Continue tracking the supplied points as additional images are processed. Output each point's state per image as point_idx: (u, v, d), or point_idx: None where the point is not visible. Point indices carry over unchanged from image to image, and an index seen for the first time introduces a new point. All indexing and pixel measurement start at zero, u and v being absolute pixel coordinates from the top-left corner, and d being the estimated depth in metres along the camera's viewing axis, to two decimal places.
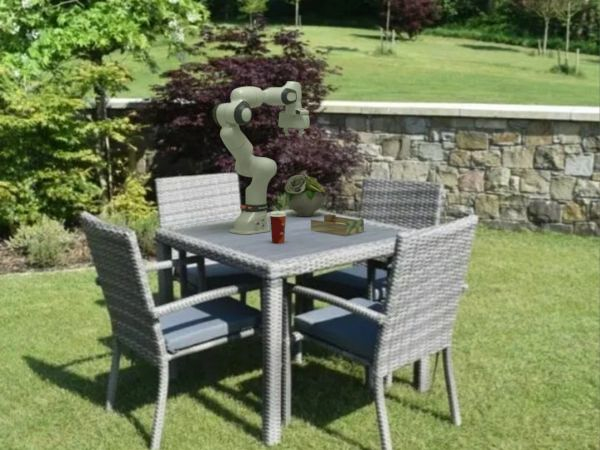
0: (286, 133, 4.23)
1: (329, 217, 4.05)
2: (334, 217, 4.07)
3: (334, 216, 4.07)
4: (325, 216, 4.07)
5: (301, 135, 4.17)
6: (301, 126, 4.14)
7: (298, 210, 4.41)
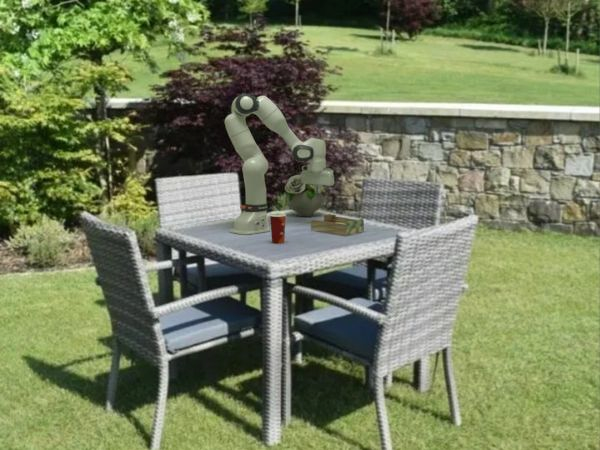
0: None
1: (329, 217, 4.05)
2: (334, 217, 4.07)
3: (334, 216, 4.07)
4: (325, 216, 4.07)
5: (315, 191, 4.11)
6: None
7: (298, 210, 4.41)
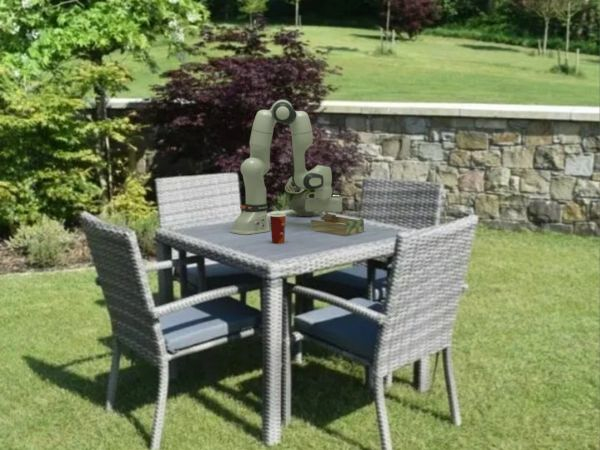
0: None
1: (329, 217, 4.05)
2: (334, 217, 4.07)
3: (334, 216, 4.07)
4: (325, 216, 4.07)
5: (321, 218, 4.11)
6: None
7: (298, 210, 4.41)
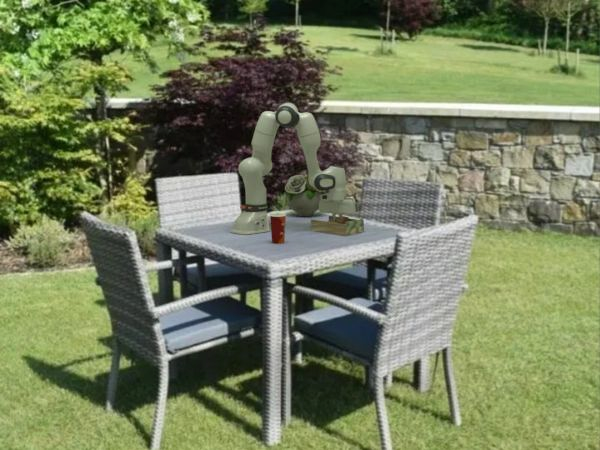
0: None
1: (341, 219, 3.99)
2: (346, 219, 4.00)
3: (346, 218, 4.00)
4: (337, 218, 4.01)
5: None
6: None
7: (298, 210, 4.41)
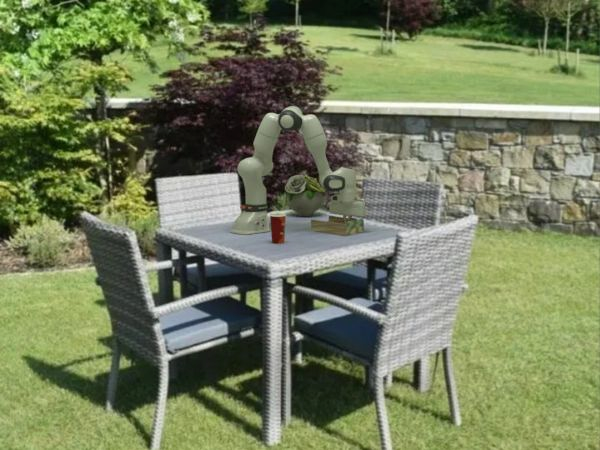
0: None
1: None
2: None
3: (355, 219, 3.95)
4: (346, 219, 3.97)
5: (345, 221, 4.01)
6: None
7: (298, 210, 4.41)
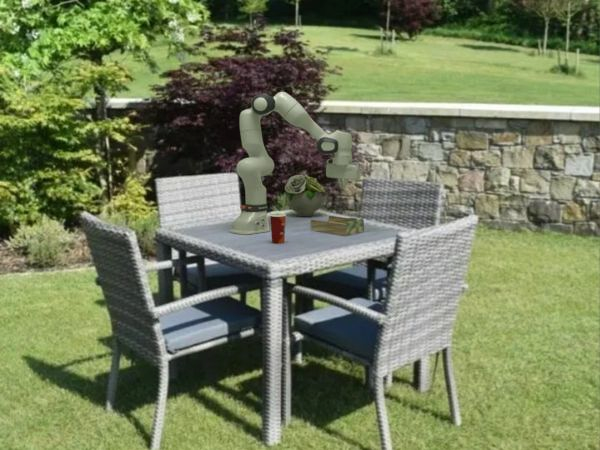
0: None
1: None
2: None
3: (355, 219, 3.95)
4: (346, 219, 3.97)
5: (340, 185, 4.00)
6: None
7: (298, 210, 4.41)
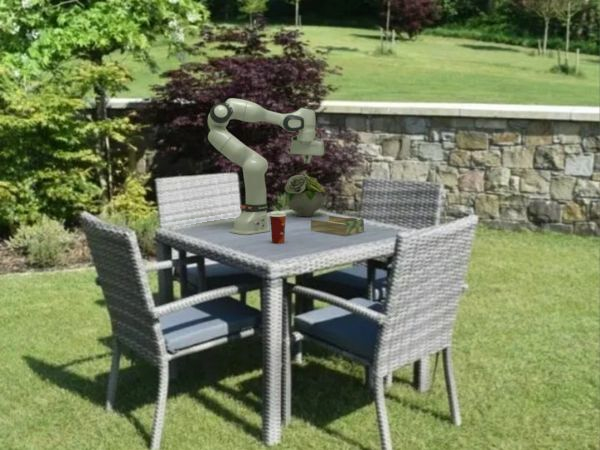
0: None
1: None
2: None
3: (355, 219, 3.95)
4: (346, 219, 3.97)
5: None
6: None
7: (298, 210, 4.41)
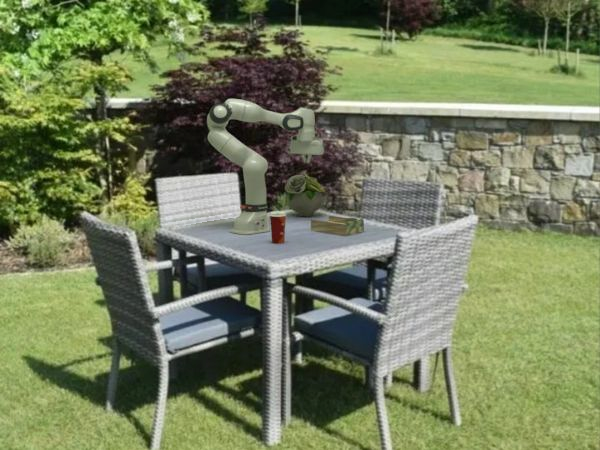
0: None
1: None
2: None
3: (355, 219, 3.95)
4: (346, 219, 3.97)
5: (304, 161, 4.17)
6: None
7: (298, 210, 4.41)
